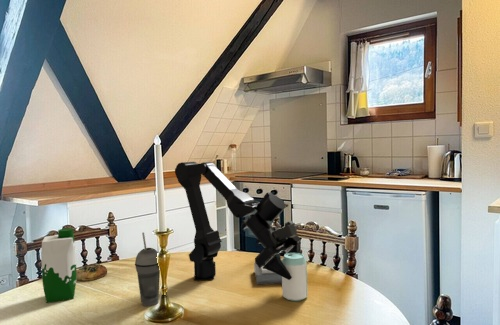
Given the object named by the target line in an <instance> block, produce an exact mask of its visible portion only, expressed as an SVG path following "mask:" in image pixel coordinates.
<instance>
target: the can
mask: <svg viewBox="0 0 500 325" xmlns="http://www.w3.org/2000/svg"><path fill="white" fill-rule="evenodd" d="M282 259H283V260H282V263H283V264H284V266H285V267H286V269H287V270H288V272H289V273H290V275H291V277H292V278H291V279H290V280H288V279H286V278H284V277H282V283H281V285H282V286H281V289H282V294H281V295H282V297H283V298H284V299H286V300H288V301H291V302H300V301H303V300H304V299H306V298H307V297H308V268H307V267H308V265H307V260H306V258H305V255H304V254H303V253H301V252H300V253H286V254H284V255H283V258H282Z"/></svg>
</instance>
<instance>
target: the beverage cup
mask: <svg viewBox="0 0 500 325" xmlns="http://www.w3.org/2000/svg"><path fill="white" fill-rule="evenodd" d="M145 237H146V236H145V232H142V240H143V249H141V250H140V251H139V252H138V253H137V254H136V257H135V260H134V261H135V262H134V266H135V270H136V273H137V280H138V281H137V282H138V288H139V295H140V296H139V297H140V300H141V305H142V306H143V307H152V306H156V305H157V304H158V303H159V295H160V294H159V293H160V275H161V274H160V273H161V272H160V271H161V269H160V270H159V266H158V263H157V258H156V257H157V253H159V251H157V250H156V249H155V248H154V247H153V248H152V247H147V243H146V238H145Z"/></svg>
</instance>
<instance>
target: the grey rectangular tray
mask: <svg viewBox="0 0 500 325" xmlns="http://www.w3.org/2000/svg"><path fill="white" fill-rule="evenodd" d="M282 260H283V258H281V261H282ZM253 264H254V266H253V267H254V268H253V269H254V276H255V281H256V284H257V285H275V284H282V276H280V275H278V274H276V273H274V272H272V271H269V270H267V269H263V267H264V266H265V265H264V266H262V267H261V268H259V267H258V266H257V265H256V263H255V262H254V263H253Z"/></svg>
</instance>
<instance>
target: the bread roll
mask: <svg viewBox="0 0 500 325" xmlns="http://www.w3.org/2000/svg"><path fill="white" fill-rule="evenodd" d="M76 271H77V277H76V281H80V282H81V281H84V282H92V281H96V280H99V279H100V278H101V279H102V278H104V277H106V275H107V273H108V269H107V267H106V266H104V265H103V264H100V263H98V264H95V263H94V264H93V263H90V264H88V265H83V266H82V267H79V268H78V269H76Z"/></svg>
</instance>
